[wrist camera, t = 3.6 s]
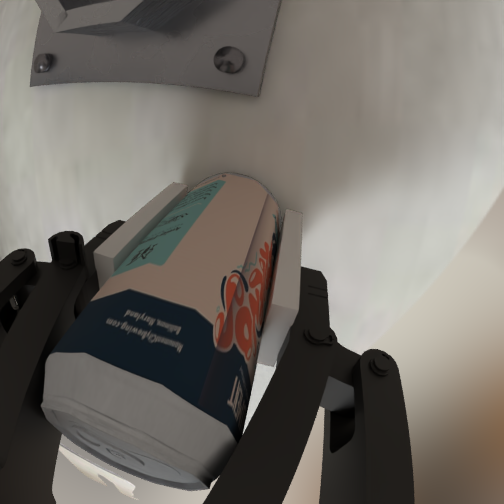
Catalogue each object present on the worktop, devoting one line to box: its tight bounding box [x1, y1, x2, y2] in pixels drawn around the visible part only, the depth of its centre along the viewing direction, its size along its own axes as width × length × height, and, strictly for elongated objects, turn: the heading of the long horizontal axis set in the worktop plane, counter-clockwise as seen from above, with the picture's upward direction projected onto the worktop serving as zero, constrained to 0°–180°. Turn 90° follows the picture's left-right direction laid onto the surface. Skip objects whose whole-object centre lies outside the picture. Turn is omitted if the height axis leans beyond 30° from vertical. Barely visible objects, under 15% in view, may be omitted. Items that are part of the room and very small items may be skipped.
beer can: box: [41, 173, 282, 491], centre depth 10 cm, size 5×5×12 cm
